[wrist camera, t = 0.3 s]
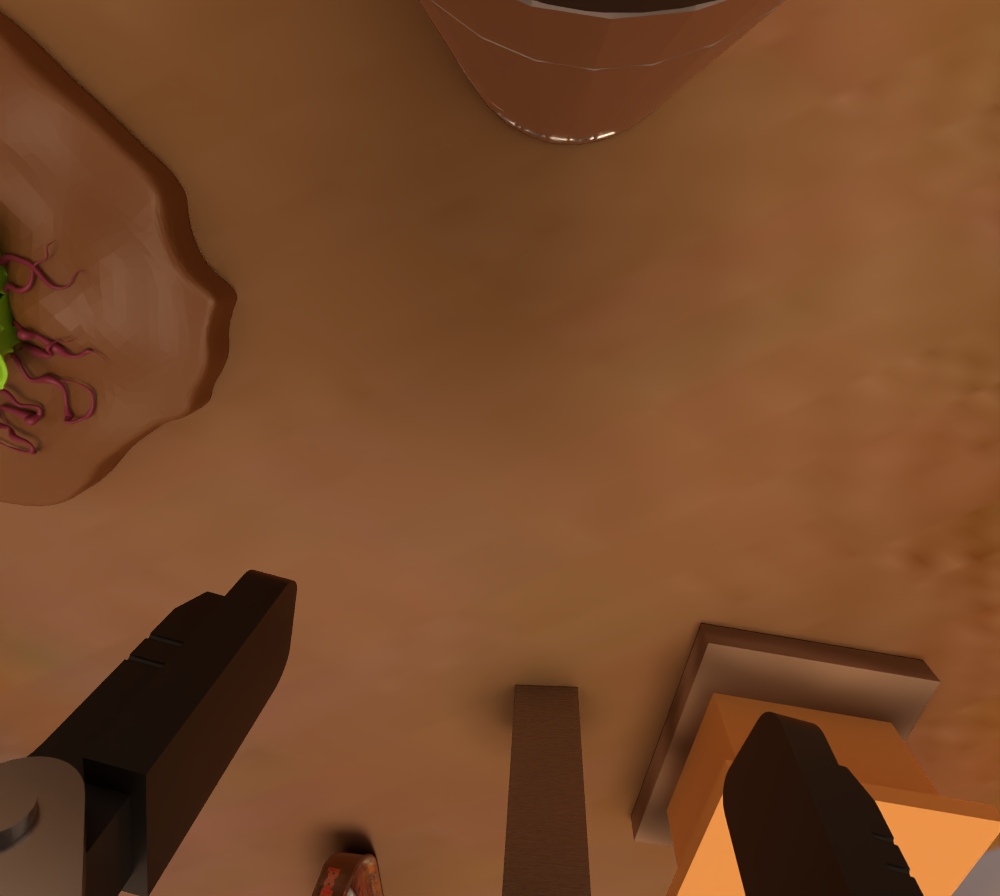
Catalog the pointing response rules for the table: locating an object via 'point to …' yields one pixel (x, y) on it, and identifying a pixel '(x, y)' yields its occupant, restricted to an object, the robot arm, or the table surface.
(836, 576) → the table surface
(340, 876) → the tin
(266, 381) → the table surface
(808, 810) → the robot arm
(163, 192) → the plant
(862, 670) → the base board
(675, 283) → the table surface
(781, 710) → the orange square collar
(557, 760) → the dark grey rectangular block
